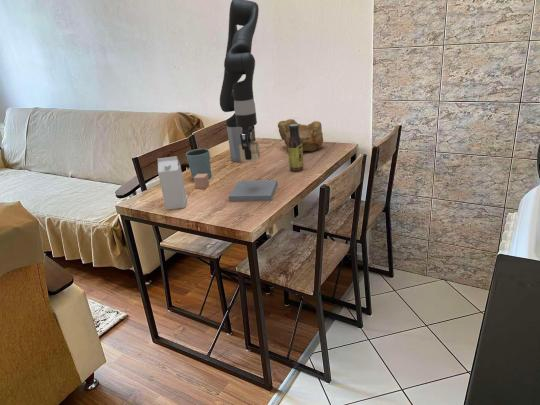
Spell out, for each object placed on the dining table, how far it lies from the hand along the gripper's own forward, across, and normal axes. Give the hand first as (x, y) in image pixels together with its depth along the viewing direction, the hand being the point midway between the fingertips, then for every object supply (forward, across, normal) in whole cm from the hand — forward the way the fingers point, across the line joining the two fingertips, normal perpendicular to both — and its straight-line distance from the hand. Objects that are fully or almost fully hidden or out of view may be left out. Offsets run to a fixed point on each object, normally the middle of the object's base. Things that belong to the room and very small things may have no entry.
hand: (250, 156), depth 151 cm
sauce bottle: (+15, +26, -14) cm, 33 cm away
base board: (+15, 0, 0) cm, 15 cm away
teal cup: (+15, +19, +28) cm, 37 cm away
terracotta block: (+15, +8, +24) cm, 29 cm away
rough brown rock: (+15, +55, -12) cm, 58 cm away
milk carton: (+15, -11, +28) cm, 34 cm away
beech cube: (+1, 0, 0) cm, 1 cm away
